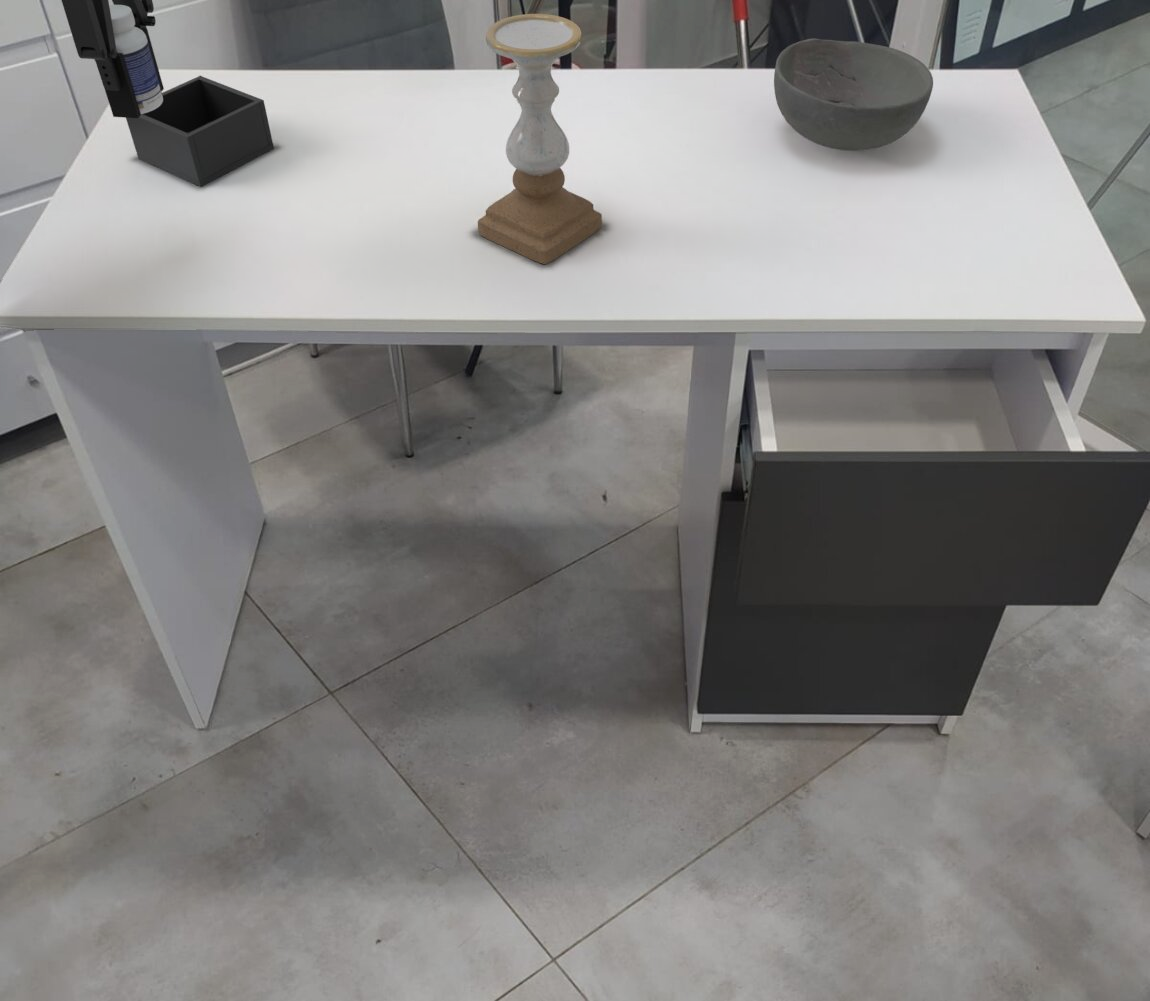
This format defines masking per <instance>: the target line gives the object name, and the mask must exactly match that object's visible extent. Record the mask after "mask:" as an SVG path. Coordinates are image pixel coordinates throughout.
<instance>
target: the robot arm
mask: <svg viewBox="0 0 1150 1001" xmlns="http://www.w3.org/2000/svg"><path fill="white" fill-rule="evenodd" d="M60 1H61V4H62V7H63V10H64V13H65V16H66V20H67V23H68V26H69V30H70V32H71V36H72V40H73V42H74V47H75V49H76V52H77V55H78V57H79V59H84V60H86V59H87V60H94V62H95V64H96V67H97V71H98V73H99V74H98V75H99V77H100V80H101V83H102V86H103V88H104V91H105V94H106V98H107V101H108V105H109V108H110V111H111V114H112V117H113V118H125V119H126V118H139V117H140V116H141V113H140V110H139V106H138V103H137V99H136V96H135V93H134V89H133V86H132V83H131V79H130V76H129V73H128V69H127V66H126V63H125V59H124V56H123V53H117V50H116V44H115V38H114V32H113V25H112V19H111V13H110V7H109V5H110V2H109V1H110V0H60ZM111 1H112V2H111V3H112V5H125V6H128V7H130V8H131V10H132V13H133V16H134V19H135V25H134V27H137V28H139V29H141V30H142V31H143V32H144V33H145V35H146V38H147V41H148V44H149V48H150V52H151V55H152V59H153V63H154V66H155V70H156V74H157V77H158V81H159V84H160V88H161V91H162V92H164V90H165V88H164V84H163V81H162V76H161V73H160V70H159V66H158V62H157V59H156V56H155V52H154V48H153V45H152V41H151V37H150V34H149V30H148V27H154V26H156V17H155V15H148V14H152V13H153V12H154V9H155V7H154V6H155V5H154V2H153V0H111Z"/></svg>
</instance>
